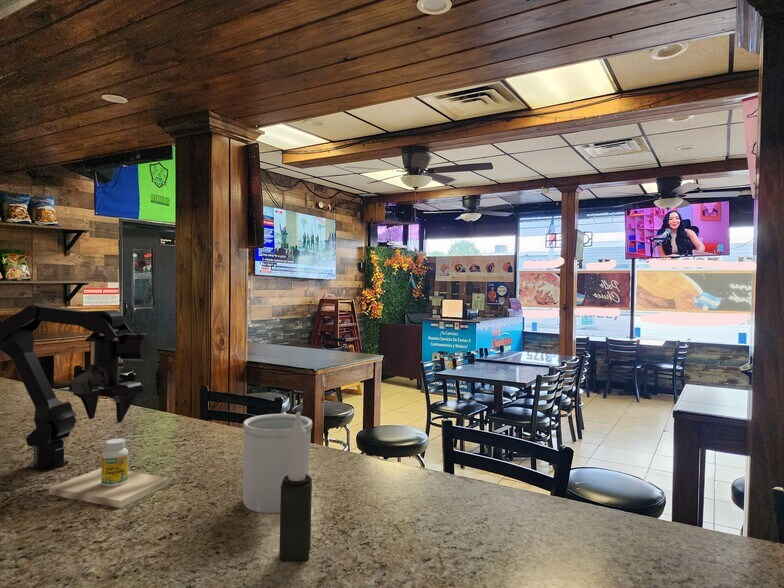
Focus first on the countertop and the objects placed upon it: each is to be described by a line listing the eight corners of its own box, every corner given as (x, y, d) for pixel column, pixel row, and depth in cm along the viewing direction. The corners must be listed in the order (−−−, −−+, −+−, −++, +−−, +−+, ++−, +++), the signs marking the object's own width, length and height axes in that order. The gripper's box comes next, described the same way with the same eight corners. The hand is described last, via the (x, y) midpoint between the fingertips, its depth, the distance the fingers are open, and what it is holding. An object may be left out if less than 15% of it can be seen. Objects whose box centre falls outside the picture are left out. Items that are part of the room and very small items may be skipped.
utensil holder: (286, 482, 121) (288, 409, 121) (323, 501, 111) (325, 422, 111) (229, 499, 111) (230, 419, 111) (264, 522, 100) (266, 434, 100)
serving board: (49, 494, 111) (49, 487, 111) (103, 473, 125) (103, 467, 125) (120, 508, 105) (120, 500, 105) (169, 484, 118) (169, 477, 118)
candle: (282, 547, 91) (285, 408, 91) (310, 546, 91) (314, 408, 91) (278, 562, 85) (281, 415, 85) (308, 561, 86) (311, 415, 86)
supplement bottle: (126, 477, 118) (127, 436, 118) (129, 484, 114) (130, 442, 114) (100, 481, 115) (101, 439, 115) (101, 489, 111) (102, 445, 111)
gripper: (49, 361, 124) (47, 424, 124) (108, 366, 118) (107, 432, 118) (89, 356, 134) (87, 414, 134) (145, 360, 128) (144, 421, 128)
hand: (105, 420), depth 128 cm, fingers open, 9 cm apart
